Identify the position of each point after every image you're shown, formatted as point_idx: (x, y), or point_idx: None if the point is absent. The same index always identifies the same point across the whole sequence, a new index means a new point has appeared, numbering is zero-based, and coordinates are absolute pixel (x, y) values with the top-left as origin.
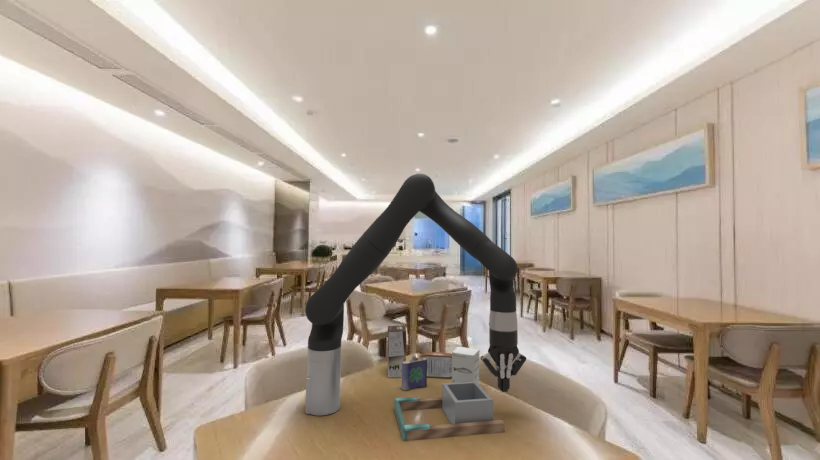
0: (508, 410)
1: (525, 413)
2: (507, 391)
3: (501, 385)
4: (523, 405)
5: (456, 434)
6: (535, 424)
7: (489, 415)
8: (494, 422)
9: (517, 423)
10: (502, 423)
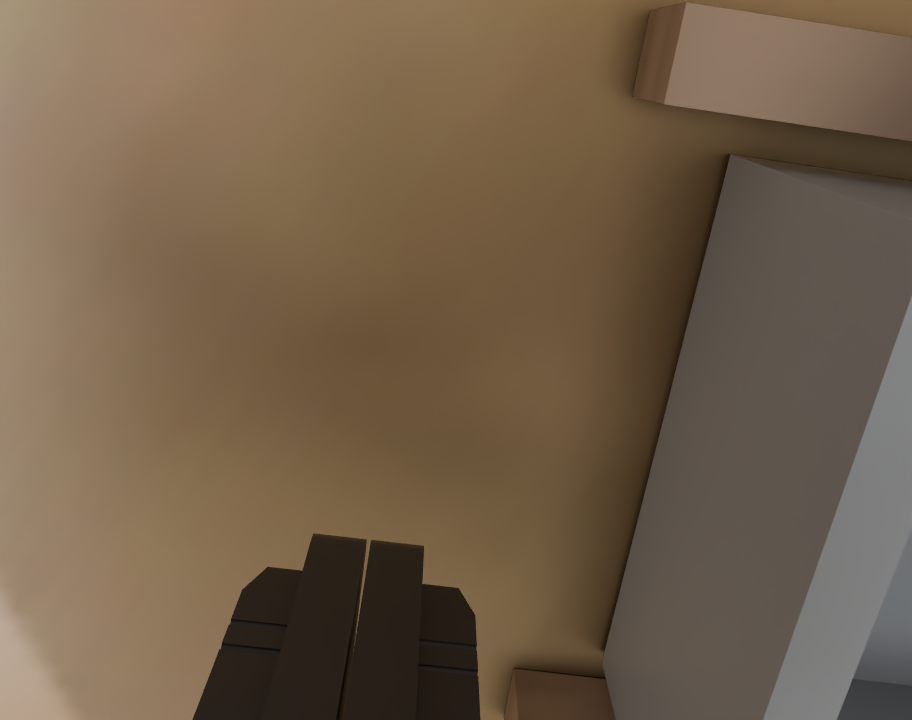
0: (258, 498)
1: (81, 378)
2: (319, 534)
3: (434, 651)
4: (4, 551)
5: None
6: (95, 88)
7: (855, 187)
8: (823, 63)
9: (325, 186)
10: (712, 9)
